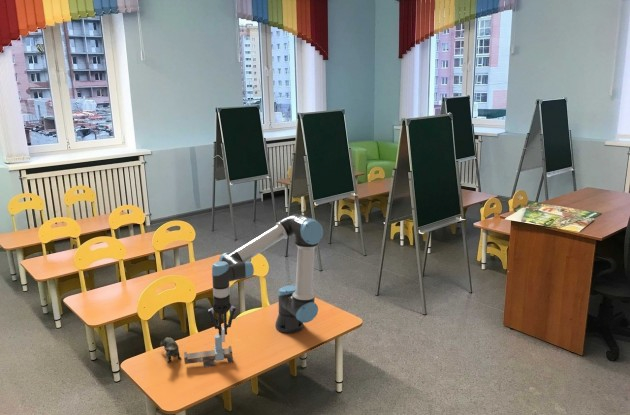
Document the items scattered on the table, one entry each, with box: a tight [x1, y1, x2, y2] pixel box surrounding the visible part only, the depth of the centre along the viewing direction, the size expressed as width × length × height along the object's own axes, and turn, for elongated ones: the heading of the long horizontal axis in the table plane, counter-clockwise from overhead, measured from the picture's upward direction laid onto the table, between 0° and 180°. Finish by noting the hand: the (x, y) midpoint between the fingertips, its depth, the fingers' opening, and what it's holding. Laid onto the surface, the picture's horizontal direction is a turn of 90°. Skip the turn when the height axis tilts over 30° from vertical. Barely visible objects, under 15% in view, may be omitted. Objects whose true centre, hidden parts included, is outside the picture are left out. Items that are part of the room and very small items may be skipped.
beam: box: [183, 345, 234, 368], centre depth 237 cm, size 22×5×6 cm, turn 105°
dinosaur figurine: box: [159, 336, 182, 364], centre depth 241 cm, size 22×8×11 cm, turn 23°
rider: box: [213, 333, 225, 362], centre depth 237 cm, size 4×8×11 cm, turn 15°
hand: (223, 340), depth 236 cm, fingers closed
